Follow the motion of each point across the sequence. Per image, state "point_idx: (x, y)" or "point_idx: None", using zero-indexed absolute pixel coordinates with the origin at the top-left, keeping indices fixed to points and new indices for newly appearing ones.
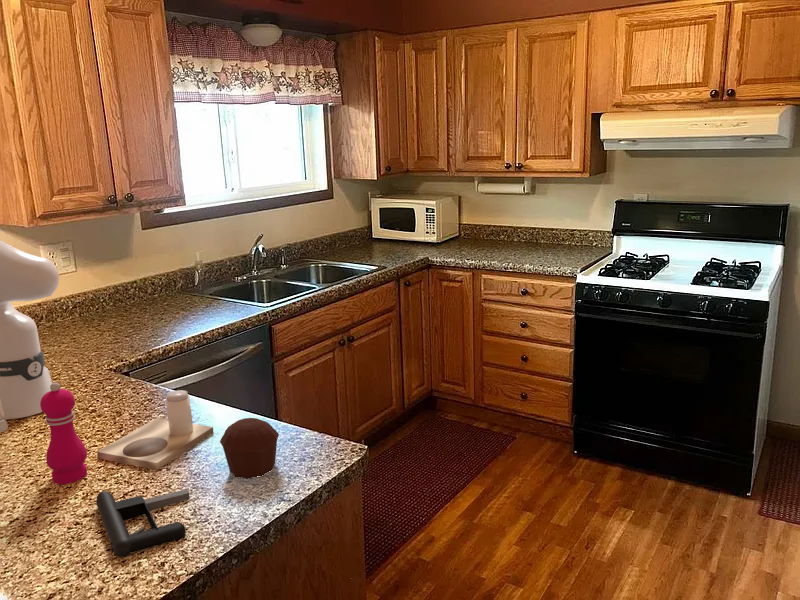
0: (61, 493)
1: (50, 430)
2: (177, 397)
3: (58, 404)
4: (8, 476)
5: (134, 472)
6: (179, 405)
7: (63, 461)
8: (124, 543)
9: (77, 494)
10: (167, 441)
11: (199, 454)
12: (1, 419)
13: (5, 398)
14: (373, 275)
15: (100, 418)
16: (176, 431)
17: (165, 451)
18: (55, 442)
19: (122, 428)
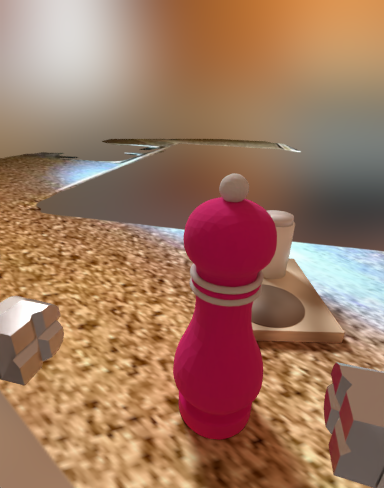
0: (271, 474)
1: (209, 318)
2: (291, 219)
3: (272, 240)
4: (52, 448)
5: (315, 358)
6: (292, 231)
7: (253, 390)
8: None
9: (313, 464)
10: (280, 288)
11: (339, 300)
12: (357, 370)
13: None
14: (164, 149)
15: (100, 266)
16: (278, 271)
17: (311, 306)
18: (230, 348)
19: (157, 277)
